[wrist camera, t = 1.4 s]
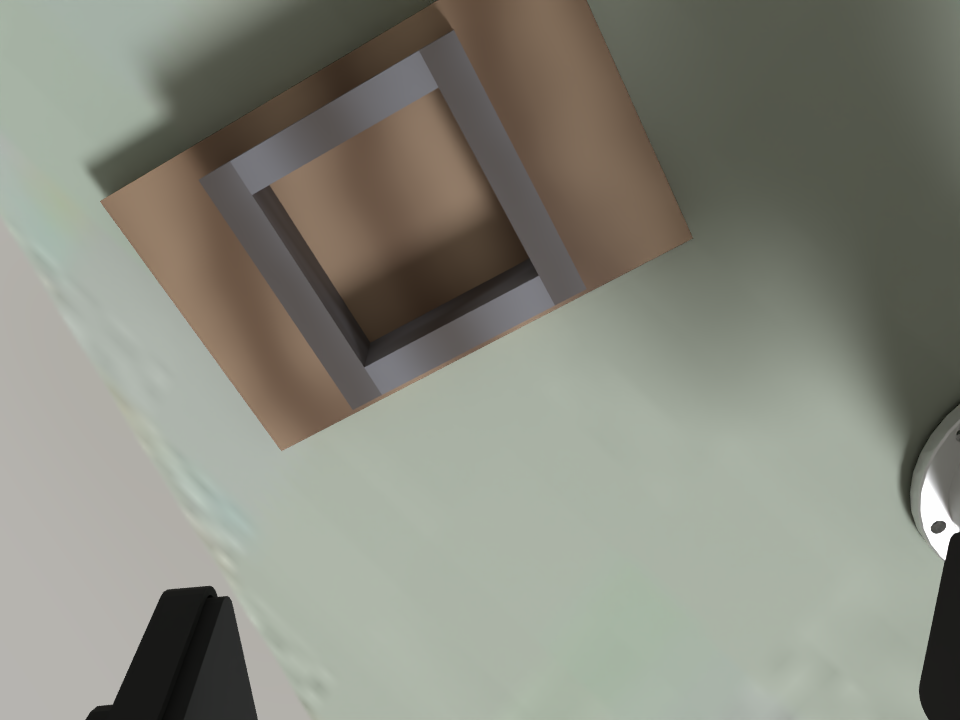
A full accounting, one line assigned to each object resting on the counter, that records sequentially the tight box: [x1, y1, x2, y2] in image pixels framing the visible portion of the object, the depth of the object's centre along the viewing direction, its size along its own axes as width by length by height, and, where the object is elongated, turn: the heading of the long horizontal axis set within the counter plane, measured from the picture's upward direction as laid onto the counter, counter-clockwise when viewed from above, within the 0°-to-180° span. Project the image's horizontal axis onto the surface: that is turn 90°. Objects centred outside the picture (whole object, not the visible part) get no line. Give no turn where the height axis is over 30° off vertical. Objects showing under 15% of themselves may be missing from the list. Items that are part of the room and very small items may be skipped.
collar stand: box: [100, 0, 693, 451], centre depth 36 cm, size 22×14×4 cm, turn 118°
